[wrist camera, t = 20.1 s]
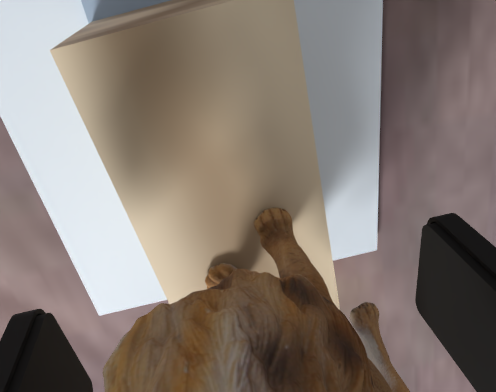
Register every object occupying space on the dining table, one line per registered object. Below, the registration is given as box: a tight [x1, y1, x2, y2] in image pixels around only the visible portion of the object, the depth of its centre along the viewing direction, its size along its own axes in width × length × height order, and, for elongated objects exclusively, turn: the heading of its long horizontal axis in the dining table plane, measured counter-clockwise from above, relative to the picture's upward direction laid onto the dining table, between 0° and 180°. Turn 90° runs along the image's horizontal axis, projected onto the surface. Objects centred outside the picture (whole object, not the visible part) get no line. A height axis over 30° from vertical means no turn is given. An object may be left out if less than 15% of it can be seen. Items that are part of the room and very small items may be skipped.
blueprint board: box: [0, 0, 383, 316], centre depth 18 cm, size 16×16×1 cm
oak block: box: [50, 0, 340, 310], centre depth 15 cm, size 6×13×6 cm, turn 13°
